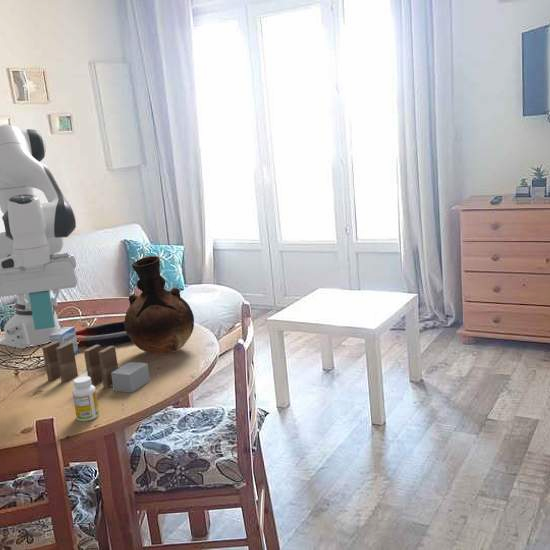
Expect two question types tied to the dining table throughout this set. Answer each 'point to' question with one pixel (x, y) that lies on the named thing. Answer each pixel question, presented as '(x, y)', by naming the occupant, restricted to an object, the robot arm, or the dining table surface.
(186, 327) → the ceramic vessel
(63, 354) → the domino
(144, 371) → the end block
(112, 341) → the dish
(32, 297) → the domino
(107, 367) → the domino
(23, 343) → the robot arm
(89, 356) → the domino
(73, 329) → the medicine box
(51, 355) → the domino
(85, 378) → the supplement bottle
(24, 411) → the dining table surface
